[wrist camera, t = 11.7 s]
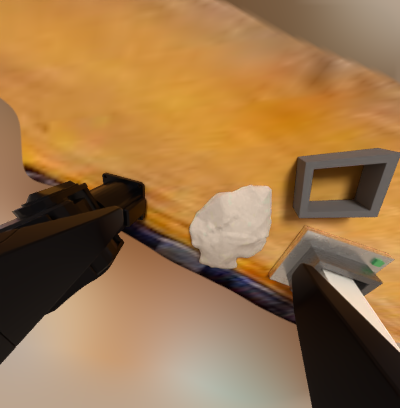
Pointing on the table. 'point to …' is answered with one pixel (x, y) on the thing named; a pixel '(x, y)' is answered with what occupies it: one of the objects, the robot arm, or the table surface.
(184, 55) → the table surface
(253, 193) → the decorative stone
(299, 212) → the grey hollow square frame
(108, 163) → the table surface
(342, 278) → the plug
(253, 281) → the table surface
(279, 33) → the table surface
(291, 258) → the port
